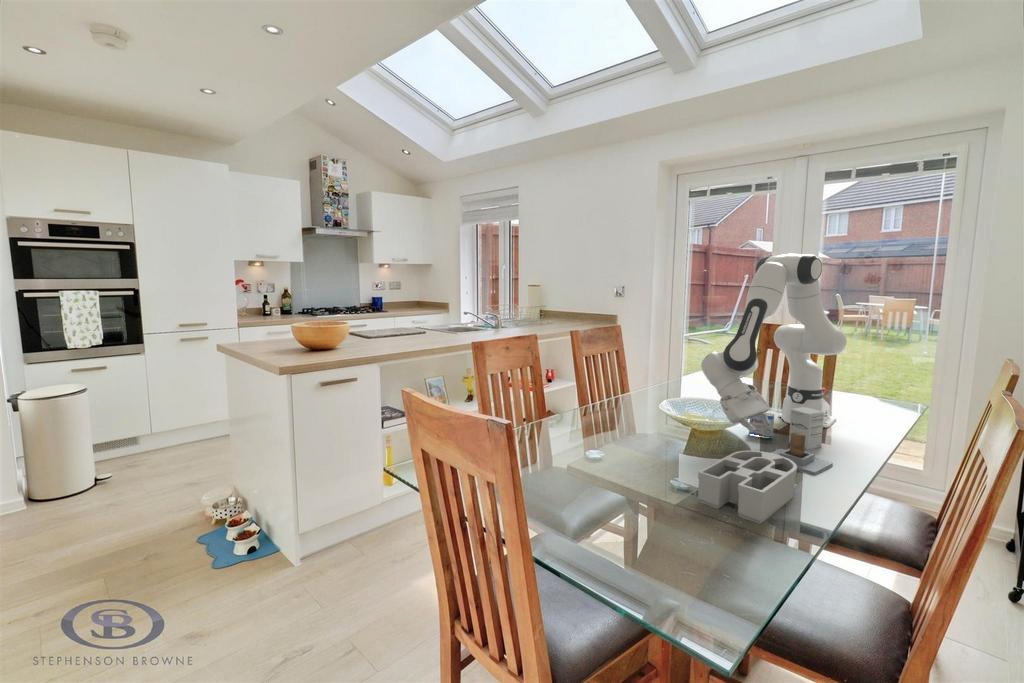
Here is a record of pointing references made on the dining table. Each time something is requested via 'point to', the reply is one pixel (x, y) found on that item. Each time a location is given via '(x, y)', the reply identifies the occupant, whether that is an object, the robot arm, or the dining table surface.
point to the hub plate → (805, 462)
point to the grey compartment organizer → (749, 483)
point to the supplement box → (807, 425)
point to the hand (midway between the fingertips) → (761, 428)
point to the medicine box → (762, 426)
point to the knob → (797, 444)
